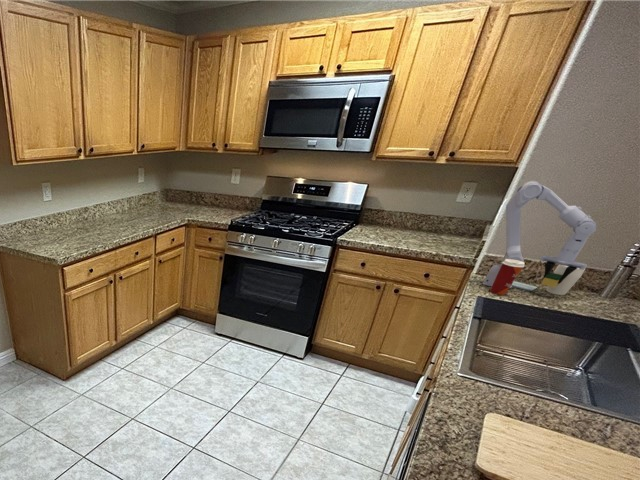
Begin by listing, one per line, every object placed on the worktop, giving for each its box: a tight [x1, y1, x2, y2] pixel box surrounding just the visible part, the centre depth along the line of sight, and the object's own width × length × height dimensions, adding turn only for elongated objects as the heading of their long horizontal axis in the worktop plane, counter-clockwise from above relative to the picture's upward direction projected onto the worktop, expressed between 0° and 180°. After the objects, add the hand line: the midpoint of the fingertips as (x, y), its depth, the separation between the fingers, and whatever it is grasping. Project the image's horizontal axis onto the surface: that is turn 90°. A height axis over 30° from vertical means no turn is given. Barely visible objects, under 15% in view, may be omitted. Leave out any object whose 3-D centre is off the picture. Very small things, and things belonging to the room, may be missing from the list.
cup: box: [546, 264, 587, 296], centre depth 183 cm, size 9×9×12 cm
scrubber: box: [540, 272, 562, 287], centre depth 179 cm, size 7×4×4 cm, turn 124°
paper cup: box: [489, 259, 526, 296], centre depth 180 cm, size 8×8×14 cm
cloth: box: [511, 280, 538, 292], centre depth 192 cm, size 11×8×1 cm
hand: (551, 281), depth 179 cm, fingers closed on scrubber, 4 cm apart
